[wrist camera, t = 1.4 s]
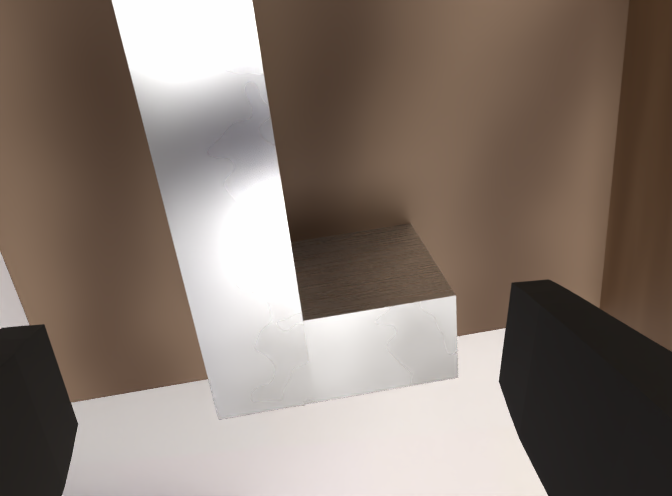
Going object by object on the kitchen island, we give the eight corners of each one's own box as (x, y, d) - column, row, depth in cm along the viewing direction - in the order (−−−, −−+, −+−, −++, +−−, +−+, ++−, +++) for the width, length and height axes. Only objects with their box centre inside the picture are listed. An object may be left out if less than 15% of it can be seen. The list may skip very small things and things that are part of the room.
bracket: (125, -107, 14) (77, -135, 10) (389, -137, 14) (444, -176, 10) (224, 324, 19) (218, 420, 15) (415, 292, 20) (457, 377, 16)
